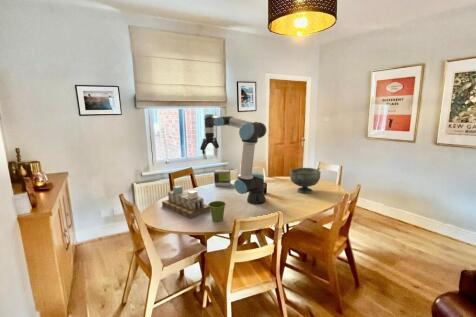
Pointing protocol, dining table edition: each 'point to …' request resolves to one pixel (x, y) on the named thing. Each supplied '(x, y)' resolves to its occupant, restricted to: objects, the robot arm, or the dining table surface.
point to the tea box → (222, 177)
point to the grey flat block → (185, 209)
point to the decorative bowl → (305, 178)
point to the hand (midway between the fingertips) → (210, 156)
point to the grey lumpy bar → (186, 200)
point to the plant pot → (217, 210)
